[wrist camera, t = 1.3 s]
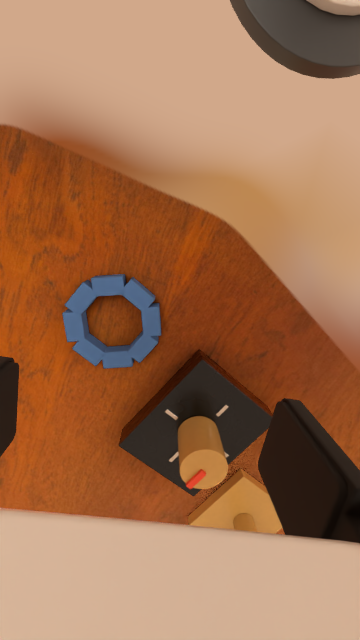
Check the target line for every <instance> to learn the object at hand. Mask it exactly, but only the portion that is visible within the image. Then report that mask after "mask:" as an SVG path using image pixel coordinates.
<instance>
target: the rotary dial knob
mask: <svg viewBox="0 0 360 640" xmlns="http://www.w3.org/2000/svg"><path fill="white" fill-rule="evenodd" d="M177 438H178V453H179V469H180V475H181V478H182V479H183V481H184V482H185V483H186V487H188V488H189V489H192V488H197V489H208V488H212V487H214V486H216V485H218V484H219V483H221V482H222V481H223V480H224V478H225V477H226V475H227V472H228V463H227V460H226V456H225V453H224V449H223V446H222V442H221V439H220V435H219V431H218V428H217V426H216V424H215V423H214V422H213V421H212V420H211V419H209V418H207V417H203V416H195V417H191V418H189V419H187V420H185V421H184V422H183V423H182V424H181V425H180V427H179V429H178V433H177Z"/></svg>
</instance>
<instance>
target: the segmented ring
mask: <svg viewBox="0 0 360 640" xmlns="http://www.w3.org/2000/svg"><path fill="white" fill-rule="evenodd" d="M111 295H122V296H124V297H125V298H126V299H127V300H129V301H130V302H131V303H132V304H133V305H135V306H136V307H137V308H138V309H139V310H141V316H142V327H143V331H142V332H141V333H140V334H139V335H138V337H137V338H136V339H135V340H134V341H133V342H132V343H131V344H130V345H124V346H110V347H107V346H106V345H105V344H103V343H102V342H101V341H99V340H98V339H97V338H95V337H94V336H93V335H91V334H90V333H89V328H88V321H87V314H86V310H87V309H88V307H89V306H90V305H91V304H92V303H93V302H94V300H95V299H96V298H97V297H98V296H111ZM154 300H155V295H154V294H152V293H151V292H150V291H149V290H148V289H147V288H145V287H144V286H143V285H142V284H141V283H140V282H138V281H137V280H136V279H135V278H134V277H132V278H131V280H130V281H129V282H128V283H127V284H126V277H125V274H119V275H102V276H95V277H93V278H91V282H90V281H89V280H86V281H85V282H83V283H82V284H81V285H80V286H79V288H78V289H77V290H76V291H75V293H74V294H73V295H72V296H71V298H70V299H69V300H68V301H67V302H66V304H65V306H66V307H67V308H69V309H67V310H66V311H65V312H63V313H62V314H63V320H64V326H65V331H66V337H67V342H75V341H78V342H77V343H76V344H75V345H74V347H73V348H72V349H73V350H74V351H76V352H77V353H78V354H80V355H81V356H82V357H84V358H85V359H86V360H88V361H89V362H91V363H92V364H93V365H95V366H97V365H98V363H99V362H100V361H101V360H102V361H103V368H104V369H105V368H119V367H132V366H133V362H134V359H135V360H136V361H137V362H139V363H140V362H141V361H142V360H143V359H144V358H145V357H146V356H147V355H148V354H149V353H150V351H151V350H152V349H153V348H154V347H155V346H156V345H157V344H158V338H159V337H158V336H161V320H160V307H159V303H152V302H153V301H154Z"/></svg>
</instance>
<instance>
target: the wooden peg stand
mask: <svg viewBox="0 0 360 640" xmlns="http://www.w3.org/2000/svg"><path fill="white" fill-rule="evenodd" d="M188 525H193V526H203V527H213V528H223V529H233V530H243V531H252V532H262V533H272V534H275V533H277V532H278V531H279V530H280V529H282V525H281V523H280V520H279V518H278V516H277V513H276V511H275V508H274V506H273V503H272V501H271V499H270V496H269V494H268V491H267V489H266V487H265V486H264V485H263V484H261V483H260V482H258V481H257V480H256V479H254V478H253V477H252V476H250V475H249V474H248V473H246V472H245V471H244V470H242V469H240V470H238V471H237V472H236V473H235V474H234V475H233V476H232V477H231V478H230V479H229V480H227V481H226V482H225V483H224V484H223V485H222V486H221V487H220V488H219V489H217V490H216V491H215V492H214V493H213V494H212V495H211V496H210V497H209V498H208V499H206V500H205V501H204V502H203V503H202V504H201V505H200V506H199V507H198V508H196V509H195V510H194V511H193V512H192V513H191V514H190V515H189V516H188Z"/></svg>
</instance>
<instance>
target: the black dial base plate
mask: <svg viewBox="0 0 360 640" xmlns="http://www.w3.org/2000/svg"><path fill="white" fill-rule="evenodd" d="M195 416H203V417H207V418H209V419H211V420H212V421H213V422H214V423H215V424H216V426H217V428H218V431H219V435H220V439H221V442H222V446H223V449H224V453H225V456H226V460H227V463H228V464H230V463H231V462H232V461H233V460H234V459H235V458H236V457H237V456H238V455H239V454H240V453H242V452H243V451H244V450H245V449H246V448H247V447H248V446H249V445H250V444H251V443H252V442H254V441H255V440H256V439H257V438H258V437H259V436H260V435H261V434H262V433H263V432H265V431H266V430H267V429H268V428H269V426H270V423H271V420H272V416H273V415H272V413H271V411H270V410H269V408H268V406H266V405H265V404H264V403H263V402H262V401H260V400H259V399H258V398H257V397H256V396H254V395H253V394H252V393H251V392H250V391H249V390H247V389H246V388H245V387H244V386H243V385H241V384H240V383H239V382H238V381H237V380H235V379H234V378H233V377H232V376H231V375H229V374H228V373H227V372H226V371H225V370H223V369H222V368H221V367H220V366H219V365H217V364H216V363H215V362H214V361H213V360H212V359H210V358H209V357H208V356H207V355H206V354H204V353H203V352H202V351H201V350H198V351H197V352H196V353H195V354H194V355H193V356H192V357H191V358H190V359H189V360H188V361H187V362H186V364H185V365H184V366H183V367H182V368H181V369H180V370H179V371H178V372H177V373H176V374H175V375H174V376H173V377H172V378H171V379H170V380H169V381H168V382H167V383H166V384H165V385H164V386H163V387H162V389H161V390H160V391H159V392H158V393H157V394H156V395H155V396H154V397H153V398H152V399H151V400H150V401H149V402H148V403H147V404H146V405H145V406H144V407H143V408H142V409H141V410H140V411H139V413H138V414H137V415H136V416H135V417H134V418H133V419H132V420H131V421H130V422H129V423H128V424H127V425H126V426H125V427H124V428H123V429H122V433H121V438H120V442H119V446H120V447H121V448H123V449H124V450H126V451H127V452H129V453H130V454H132V455H133V456H135V457H136V458H137V459H139V460H140V461H142V462H143V463H145V464H146V465H148V466H149V467H151V468H152V469H154V470H155V471H157V472H158V473H160V474H161V475H163V476H164V477H166V478H167V479H169V480H170V481H172V482H173V483H175V484H176V485H178V486H179V487H180V488H182V489H183V490H185V491H186V492H188V493H189V494H191V495H192V496H195V495H196V494H197V493H198V492H199V491H200V490H201V489H197V488H192V489H189V488H188V487H186V483H185V482H184V481H183V479H182V478H181V475H180V469H179V453H178V438H177V433H178V429H179V427H180V425H181V424H182V423H183V422H184V421H185V420H187V419H189V418H191V417H195Z"/></svg>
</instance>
